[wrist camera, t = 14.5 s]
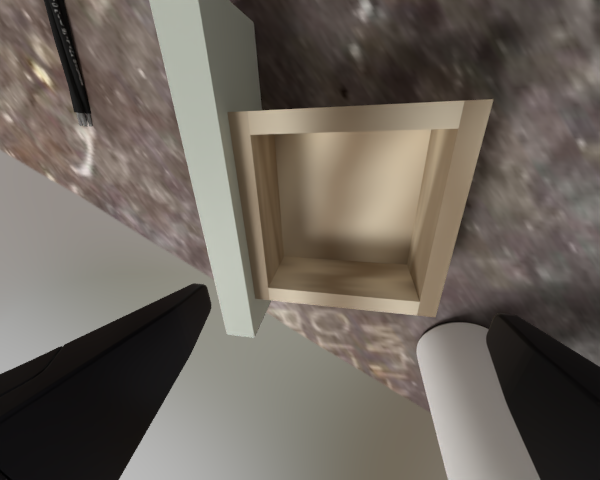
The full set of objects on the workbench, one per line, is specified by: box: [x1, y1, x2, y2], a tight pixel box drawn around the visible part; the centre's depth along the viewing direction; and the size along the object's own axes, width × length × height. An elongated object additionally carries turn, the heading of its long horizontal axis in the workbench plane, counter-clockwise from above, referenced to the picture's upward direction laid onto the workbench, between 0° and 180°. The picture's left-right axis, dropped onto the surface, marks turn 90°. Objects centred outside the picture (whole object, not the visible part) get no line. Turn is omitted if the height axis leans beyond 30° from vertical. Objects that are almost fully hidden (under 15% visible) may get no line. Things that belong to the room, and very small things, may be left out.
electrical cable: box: [44, 0, 92, 127], centre depth 16 cm, size 12×1×1 cm, turn 173°
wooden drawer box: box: [227, 99, 494, 317], centre depth 15 cm, size 11×11×5 cm
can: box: [417, 322, 540, 480], centre depth 16 cm, size 6×6×12 cm
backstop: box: [149, 0, 271, 338], centre depth 16 cm, size 2×18×6 cm, turn 2°
